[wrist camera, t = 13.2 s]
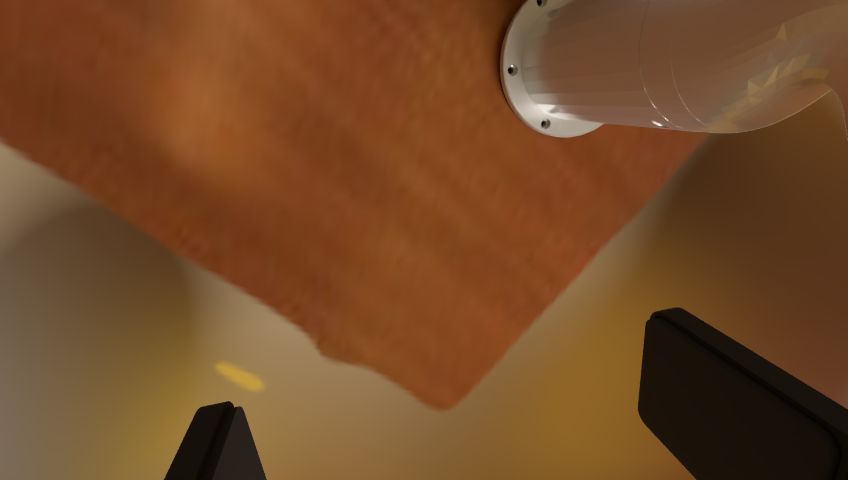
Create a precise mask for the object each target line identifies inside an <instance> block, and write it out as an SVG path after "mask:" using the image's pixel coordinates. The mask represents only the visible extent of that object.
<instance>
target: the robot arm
mask: <svg viewBox="0 0 848 480" xmlns="http://www.w3.org/2000/svg"><path fill="white" fill-rule="evenodd" d="M538 1H539V3H540V4H539V6H538V5H537V0H526V1H525V2H524V3H523V4H522V5H521V7H520V8H519V9H518V11H517V12H516V13H515V15H514V17H513V19H512V20H511V22H510V24H509V26H508V28H507V31H506V34H505V37H504V40H503V43H502V49H501V56H500V78H501V83H502V88H503V91H504V94H505V97H506V99H507V102H508V104H509V105H510V107H511V109H512V110H513V112H514V113H515V115H516V116H517V117H518V118H519V119H520V120H521V121H522V122H523V123H524V124H525V125H527V126H528V127H530V128H531V129H533V130H534V131H537V132H539V133H542V134H545V135H549V136H554V137H574V136H579V135H583V134H585V133H588V132H591V131H593V130H595V129H596V128H598V127H600V126H601V125H603V124H604V123H608V124H619V125H629V126H640V127H651V128H662V129H673V130H684V131H695V132H699V131H700V132H711V133H736V132H745V131H751V130H755V129H758V128H762V127H765V126H769V125H771V124H774V123H777V122H778V121H781V120H783V119H785V118H787V117H789V116H791V115H793V114H795V113H797V112H799V111H800V110H802V109H804V108H805V107H807V106H809V105H810V104H812V103H813V102H814V101H816V100H818V99H819V98H821V97H822V96H823V95H825V94H826V93H828V92H829V91H831V90H832V89H833V90H834V92H835V93H836V94H837V96H838V98H839V100H840V102H841V105H842V108H843V114H844V120H845V126H846V131H847V139H848V0H538ZM508 68H511V73H510V74H509V73H508ZM542 121H543V126H541V122H542ZM638 412H639V415H640V417H641V419H642V421H643V422H644V424H645V425H646V426H647V427H648V428H649V429H650V430H651V431H652V432H653V433H654V435H655V436H656V437H657V438H658V439H659V440H660V441H661V442H662V443H663V444H664V445H665V446H666V447H667V448H668V449H669V451H670V452H671V453H672V454H673V455H674V456H675V457H676V458H677V459H678V460H679V461H680V462H681V463H682V465H684V467H685V468H686V469H687V470H688V471H689V472H690V473H691V474H692V475H693V476H694V477H695V478H696V480H848V409H846V408H844V407H843V406H841V405H840V404H838V403H836V402H835V401H833V400H831V399H830V398H828V397H826V396H825V395H823V394H822V393H820V392H818V391H817V390H815V389H813V388H812V387H810V386H808V385H807V384H805V383H804V382H802V381H800V380H799V379H797V378H795V377H794V376H792V375H790V374H789V373H787V372H786V371H784V370H782V369H781V368H779V367H777V366H776V365H774V364H772V363H771V362H769V361H767V360H766V359H764V358H763V357H761V356H759V355H758V354H756V353H754V352H753V351H751V350H750V349H748V348H746V347H745V346H743V345H741V344H740V343H738V342H736V341H735V340H733V339H732V338H730V337H728V336H726V335H725V334H723V333H722V332H720V331H718V330H717V329H715V328H713V327H712V326H710V325H708V324H707V323H705V322H704V321H702V320H700V319H699V318H697V317H695V316H694V315H692V314H690V313H689V312H687V311H686V310H684V309H682V308H671V309H666V310H661V311H657V312H654V313H653V314H652V315H651V317H650V320H648V321H647V322H646V326H645V337H644V349H643V359H642V369H641V380H640V390H639V401H638ZM164 480H267V479H266V477H265V473H264V470H263V467H262V464H261V461H260V458H259V455H258V452H257V449H256V446H255V443H254V440H253V437H252V434H251V431H250V428H249V425H248V422H247V419H246V416H245V413H244V410H243V408H242V407H240V406H239V407H234V406H233V404H232V403H231V402H229V401H228V402H223V403H218V404H214V405H208V406H204V407H200V408H199V409H198V410H197V412H196V413H195V416H194V418H193V420H192V422H191V424H190V426H189V428H188V430H187V432H186V434H185V437H184V439H183V441H182V443H181V445H180V447H179V449H178V451H177V453H176V456H175V458H174V460H173V462H172V464H171V466H170V468H169V470H168V472H167V474H166V477H165V479H164Z"/></svg>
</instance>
